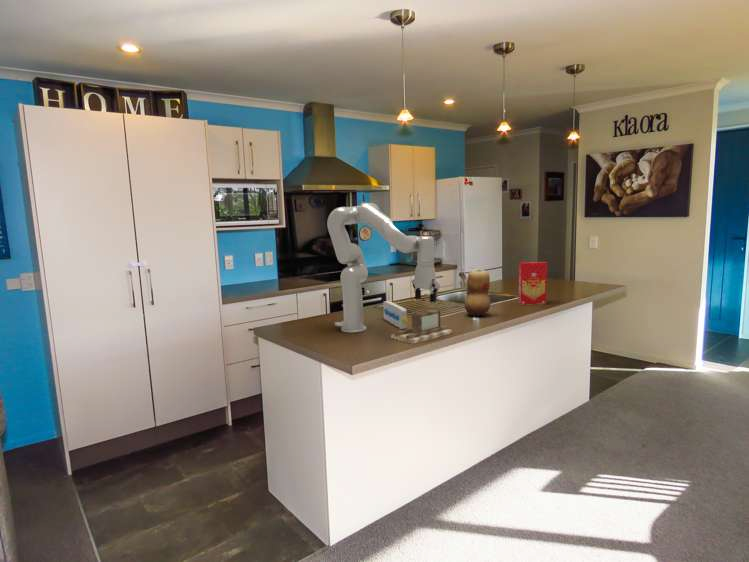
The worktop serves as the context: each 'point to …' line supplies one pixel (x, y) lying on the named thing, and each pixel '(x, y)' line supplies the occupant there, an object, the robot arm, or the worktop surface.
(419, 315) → the brown rectangular block
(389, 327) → the worktop surface
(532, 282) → the food packaging
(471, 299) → the tan lobed piece
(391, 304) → the white and blue box
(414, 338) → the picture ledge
